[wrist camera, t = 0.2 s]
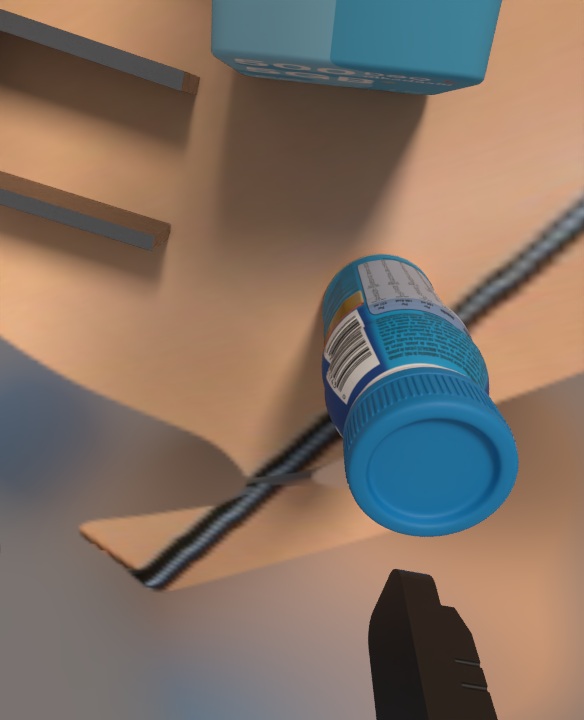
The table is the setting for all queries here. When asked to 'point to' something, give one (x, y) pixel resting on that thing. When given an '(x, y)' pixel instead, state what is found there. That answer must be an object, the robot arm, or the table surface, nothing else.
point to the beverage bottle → (411, 402)
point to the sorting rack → (66, 204)
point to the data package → (358, 42)
